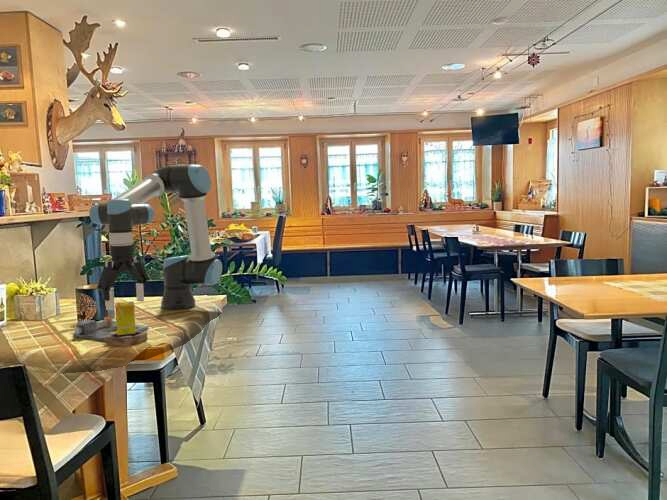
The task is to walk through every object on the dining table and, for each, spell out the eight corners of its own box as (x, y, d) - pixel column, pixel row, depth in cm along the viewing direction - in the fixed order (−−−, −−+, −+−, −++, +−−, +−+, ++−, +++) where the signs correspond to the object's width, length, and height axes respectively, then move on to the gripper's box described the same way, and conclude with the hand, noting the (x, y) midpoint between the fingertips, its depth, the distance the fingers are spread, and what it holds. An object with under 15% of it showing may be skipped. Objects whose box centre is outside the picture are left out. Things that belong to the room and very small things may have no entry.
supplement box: (116, 333, 175) (115, 302, 173) (135, 331, 177) (133, 301, 176) (117, 337, 169) (115, 306, 168) (135, 335, 172) (134, 304, 170)
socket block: (113, 324, 196) (112, 312, 196) (148, 329, 189) (147, 316, 188) (73, 336, 180) (72, 323, 180) (109, 342, 173) (108, 328, 172)
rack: (127, 336, 180) (126, 329, 179) (147, 339, 176) (147, 332, 175) (105, 343, 171) (104, 336, 171) (125, 347, 167) (125, 339, 167)
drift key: (106, 324, 191) (105, 316, 191) (111, 325, 190) (111, 317, 190) (74, 333, 179) (73, 325, 178) (79, 334, 177) (79, 326, 177)
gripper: (141, 240, 183) (144, 297, 185) (82, 248, 160) (87, 312, 163) (156, 241, 179) (160, 298, 182) (98, 249, 157) (103, 314, 160)
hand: (125, 305), depth 172 cm, fingers open, 13 cm apart
